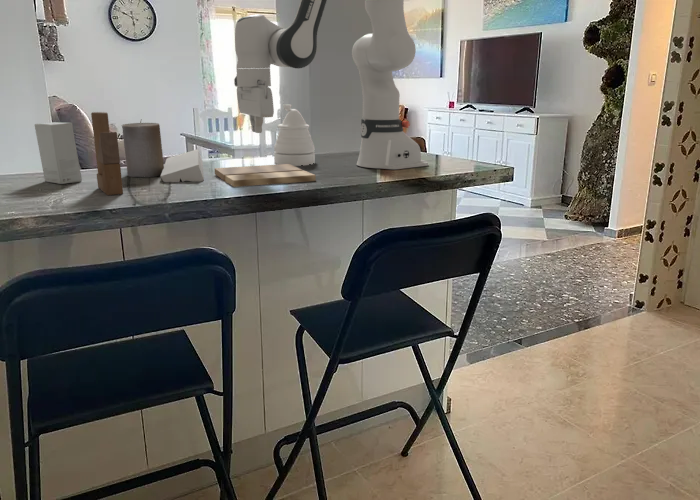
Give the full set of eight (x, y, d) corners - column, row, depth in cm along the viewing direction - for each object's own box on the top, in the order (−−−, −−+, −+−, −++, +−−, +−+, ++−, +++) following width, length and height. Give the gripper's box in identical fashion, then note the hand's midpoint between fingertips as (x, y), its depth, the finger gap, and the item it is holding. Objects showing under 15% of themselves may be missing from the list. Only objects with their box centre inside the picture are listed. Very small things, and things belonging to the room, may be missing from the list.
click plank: (289, 169, 169) (289, 163, 169) (302, 175, 161) (302, 169, 160) (214, 174, 160) (214, 168, 159) (224, 180, 151) (223, 174, 151)
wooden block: (107, 195, 132) (97, 114, 126) (97, 188, 140) (89, 112, 135) (123, 194, 133) (115, 114, 128) (113, 186, 142) (105, 111, 137)
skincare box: (82, 181, 148) (75, 122, 144) (59, 185, 143) (51, 124, 139) (64, 178, 153) (57, 120, 148) (42, 181, 148) (33, 122, 144)
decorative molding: (167, 193, 150) (204, 182, 151) (160, 176, 148) (198, 164, 150) (172, 172, 181) (203, 163, 183) (166, 158, 180) (198, 148, 181)
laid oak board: (304, 176, 160) (304, 170, 159) (315, 180, 153) (315, 174, 152) (225, 181, 150) (225, 175, 150) (233, 186, 143) (233, 180, 143)
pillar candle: (157, 170, 166) (151, 117, 162) (169, 175, 159) (164, 119, 154) (122, 174, 160) (116, 119, 156) (133, 179, 153) (127, 121, 149)
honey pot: (276, 166, 177) (274, 105, 172) (272, 160, 189) (271, 103, 184) (317, 165, 180) (317, 105, 174) (311, 159, 192) (311, 103, 186)
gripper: (278, 80, 147) (280, 135, 151) (254, 79, 164) (256, 128, 169) (254, 80, 144) (257, 136, 148) (232, 79, 162) (235, 129, 166)
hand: (257, 132), depth 159 cm, fingers closed
